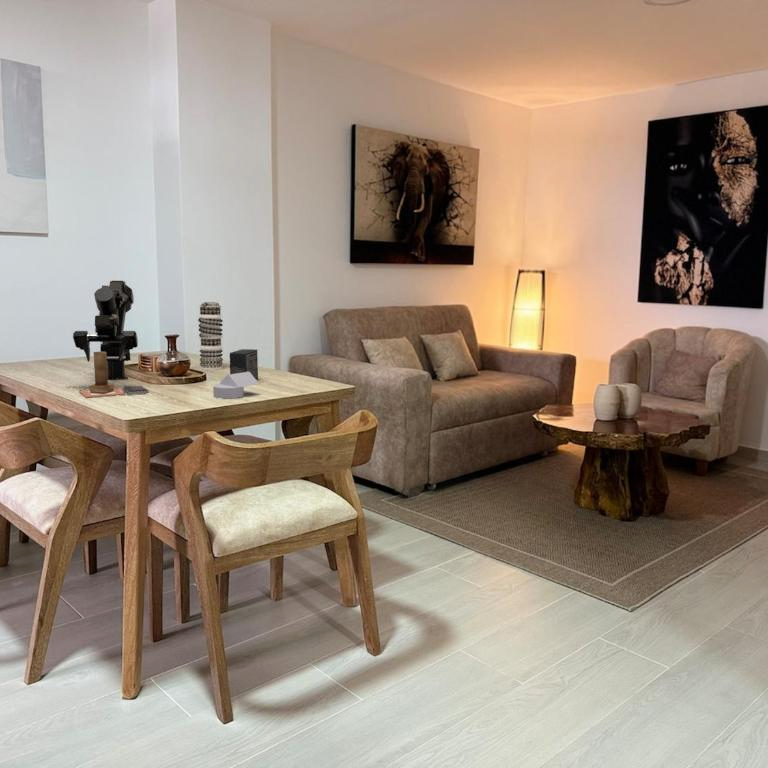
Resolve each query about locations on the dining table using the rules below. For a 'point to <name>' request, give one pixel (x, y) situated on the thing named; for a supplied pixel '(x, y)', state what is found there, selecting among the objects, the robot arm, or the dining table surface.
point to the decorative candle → (210, 336)
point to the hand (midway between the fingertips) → (103, 360)
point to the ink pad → (135, 390)
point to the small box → (244, 362)
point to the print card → (92, 395)
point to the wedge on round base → (233, 385)
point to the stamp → (101, 375)
